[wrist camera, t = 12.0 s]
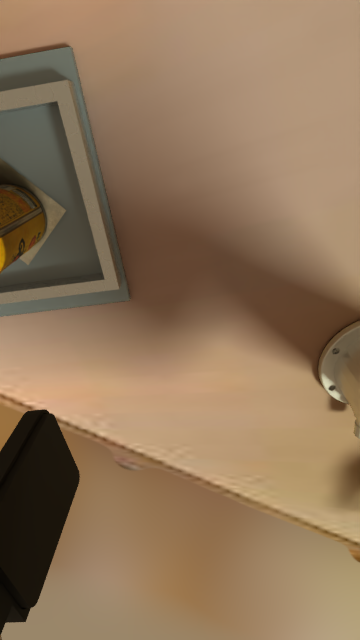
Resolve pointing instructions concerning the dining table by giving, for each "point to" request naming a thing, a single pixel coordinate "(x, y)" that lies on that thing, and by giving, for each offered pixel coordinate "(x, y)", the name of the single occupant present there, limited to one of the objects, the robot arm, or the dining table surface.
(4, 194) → the condiment
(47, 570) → the robot arm
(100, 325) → the dining table surface
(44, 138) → the board
